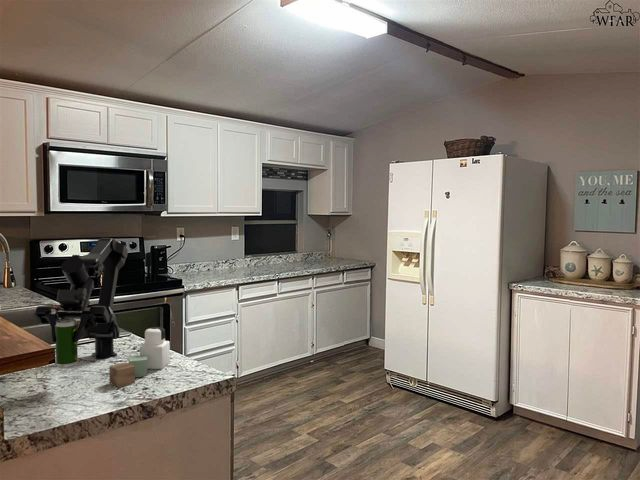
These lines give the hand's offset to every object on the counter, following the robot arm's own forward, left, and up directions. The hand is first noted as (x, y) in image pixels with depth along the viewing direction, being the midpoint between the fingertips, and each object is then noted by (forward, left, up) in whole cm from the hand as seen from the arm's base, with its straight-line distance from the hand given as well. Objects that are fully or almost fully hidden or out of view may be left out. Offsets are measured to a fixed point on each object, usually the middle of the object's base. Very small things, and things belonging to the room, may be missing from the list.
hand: (64, 341), depth 136 cm
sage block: (-2, +20, -13) cm, 24 cm away
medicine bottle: (-7, +27, -13) cm, 31 cm away
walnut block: (+3, +14, -13) cm, 20 cm away
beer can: (-1, +1, -7) cm, 7 cm away
